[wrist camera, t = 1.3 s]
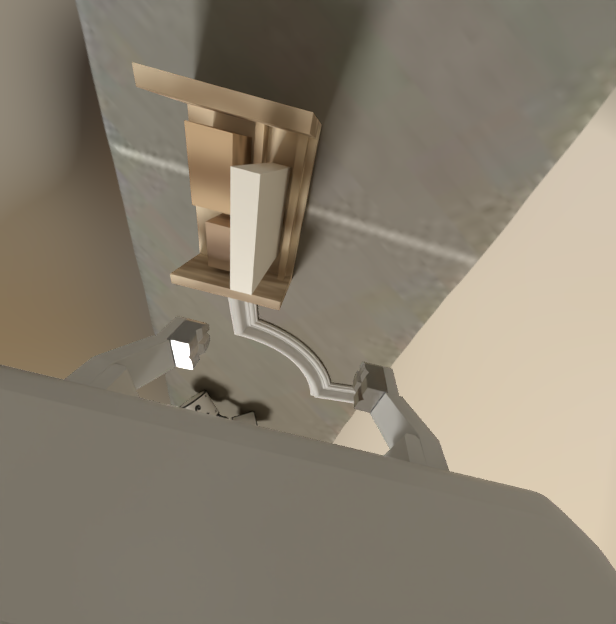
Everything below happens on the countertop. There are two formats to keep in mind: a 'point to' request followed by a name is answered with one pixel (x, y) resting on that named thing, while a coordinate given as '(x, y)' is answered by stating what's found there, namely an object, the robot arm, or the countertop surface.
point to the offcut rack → (265, 148)
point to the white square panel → (255, 221)
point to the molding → (287, 350)
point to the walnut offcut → (218, 241)
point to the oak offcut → (214, 163)
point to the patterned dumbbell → (214, 408)
